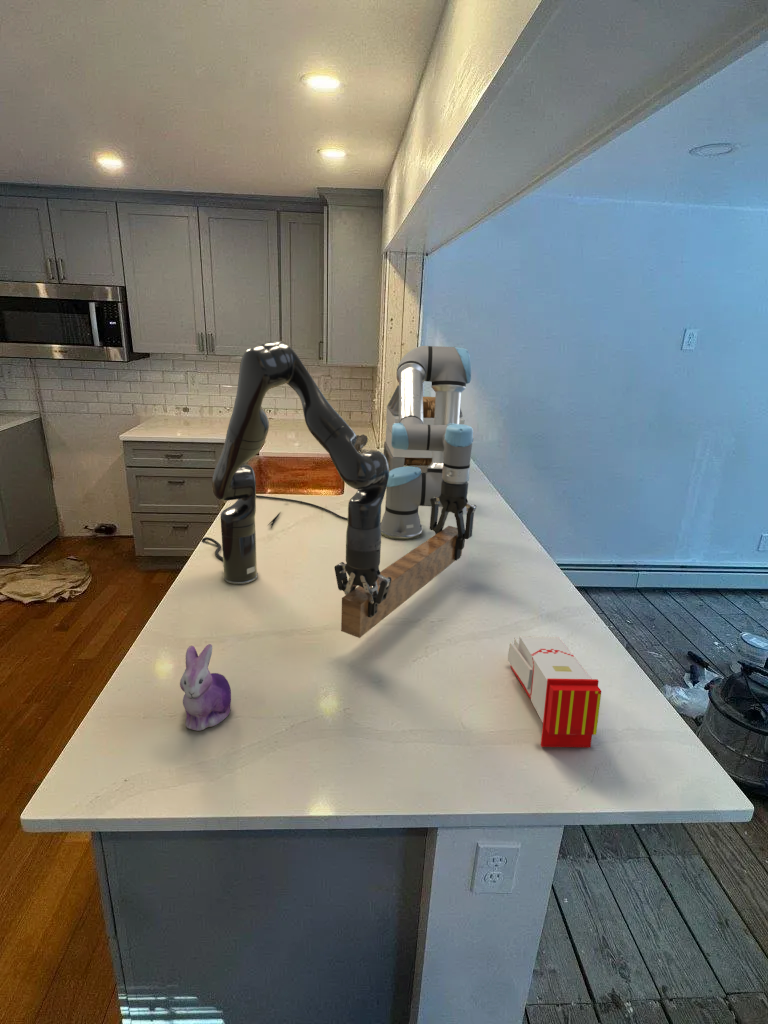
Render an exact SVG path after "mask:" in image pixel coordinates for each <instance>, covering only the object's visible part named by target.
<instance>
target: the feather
mask: <svg viewBox="0 0 768 1024" xmlns="http://www.w3.org/2000/svg"><path fill="white" fill-rule="evenodd" d="M280 514H281V512H279V513H278V514H276V516H275V517H274V518H273V519H272V520H271V521H270V522H269V523H267V526H269V525H270V529H272V528H273V526H274V525H275V522H276V521H277V519H278V517H279V515H280ZM267 526H266V527H267Z"/></svg>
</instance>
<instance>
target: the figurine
mask: <svg viewBox="0 0 768 1024" xmlns="http://www.w3.org/2000/svg"><path fill="white" fill-rule="evenodd" d="M213 649H214V648H213V645H212V644H211V643H208V644H206V646H204V648H203V649H202V651H201V652H200V653H199V655H198V651H197V650H196V647H195V646H194V645H190V646H188V647H187V648H186V652H185V659H184V660H185V669H184V672H183V673H182V675H181V678H180V681H179V687H180V690H181V691H182V692H183V693H184V694H183V697H182V705H183V708H184V711H185V714H186V718H185V722H184V723H185V727H186V728H187V729H189V730H194V731H198V732H199V731H204V730H205V729H207V728H213V727H215V726H217V725H219V724H220V723H221V722H222V721H224V720H225V719H227V717H229V715H230V712H231V705H232V689H231V686H230V683H229V681H228V679H227V678H226V677H225V676H224V675H222V674H221V673H219V672H218V673H217V672H212V673H211V671H210V669H209V665H210V662H211V658H212V654H213Z"/></svg>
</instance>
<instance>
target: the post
mask: <svg viewBox="0 0 768 1024" xmlns="http://www.w3.org/2000/svg"><path fill="white" fill-rule="evenodd" d="M457 538H459V537H458V530H457V526H456V527H455V526H451V525H448V526H446V527H444V528H443V529H442V531H440V532H439V533H437V534H436V535H435V534H434V535H433V536H431V537H429V538H428V539H427V540H426V541H424V542H422V543H421V544H419V545H418V546H416V547H415V548H413V549H412V550H410V551H409V552H407V553H406V554H404V555H403V556H402V557H400V558H399V559H397V560H396V561H394V562H393V563H391V564H390V565H388V566H386V568H384V569H382V570H381V571H380V574H381V575H382V576H384V577H386V578H387V577H390V578H391V579H392V580H391V584H390V587H389V591H388V594H387V597H386V599H385V600H383V601H382V602H381V603H380V604H378V609H377V614H375V615H374V616H373V617H372V618H370V617H368V603H369V599H368V596H367V594H365V591H364V588H362V587H361V586H356V588H355V589H354V590H353V591H351V592H350V593H348V594H347V595H345V594H344V596H342V597H341V621H340V623H341V625H340V631H341V632H343V633H344V634H347V635H350V636H352V637H355V638H358V639H361V638H362V637H363V636H364V635H366V634H367V633H368V632H369V631H370V630H372V629H373V628H374V627H375V626H377V625H378V624H379V623H380V622H381V621H383V620H384V619H385V618H387V617H388V616H389V615H390V614H392V612H394V611H395V610H397V608H399V607H400V606H401V605H402V604H404V603H405V602H406V601H407V600H409V599H410V598H411V597H412V596H414V595H415V594H416V593H417V592H418V591H420V590H421V589H422V588H424V587H425V586H426V585H427V584H429V583H430V582H431V581H432V580H433V579H435V578H436V577H437V576H438V575H440V574H441V573H442V572H443V571H444V570H446V569H447V568H448V567H450V566H451V565H452V564H453V563H454V562H456V560H454V556H455V545H456V539H457ZM462 555H463V549H462V550H461V556H462ZM376 582H377V585H378V589H377V590H378V591H379V588H380V586H379V581H378V580H377V581H376ZM370 588H371V586H370Z"/></svg>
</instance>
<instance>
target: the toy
mask: <svg viewBox="0 0 768 1024" xmlns="http://www.w3.org/2000/svg"><path fill="white" fill-rule="evenodd" d="M507 662H508V663H509V665H510V669H511V671H512V672H513V674H514V675H515V677H516V678H517V680H518V681H519V683H520V684H521V686H522V688H523V690H524V692H525V693H526V695H527V696H528V698H529V699H530V702H531V703H532V706H533V707H534V709H535V711H536V713H537V715H538V716H539V718H540V721H541V722H542V729H541V739H540V746H541V748H591V747H592V738H593V736H597V730H598V722H599V713H600V707H601V698H602V690H601V688H600V687H599V683H600V681H599V679H597V678H596V679H595V678H592V676H590V674H589V673H588V672H587V671H586V669H585V668H584V667H583V666H582V664H581V663H580V662H579V660H578V659H577V658H576V657H575V655H574V654H573V653H572V651H571V650H570V649H569V648H568V646H567V645H566V644H565V642H564V641H563V640H562V639H561V637H560V636H527V635H526V636H523V635H522V636H521V635H519V637H514V640H513V641H511V642H509V647H508V652H507Z"/></svg>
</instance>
